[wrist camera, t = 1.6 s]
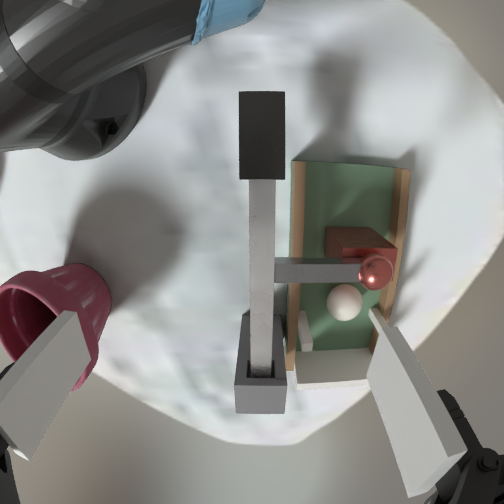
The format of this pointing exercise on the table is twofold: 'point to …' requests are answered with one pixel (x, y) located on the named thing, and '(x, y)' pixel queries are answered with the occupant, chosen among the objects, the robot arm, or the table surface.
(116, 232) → the table surface
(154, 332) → the table surface
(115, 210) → the table surface
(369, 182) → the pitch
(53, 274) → the plant pot
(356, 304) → the ball
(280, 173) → the slider
